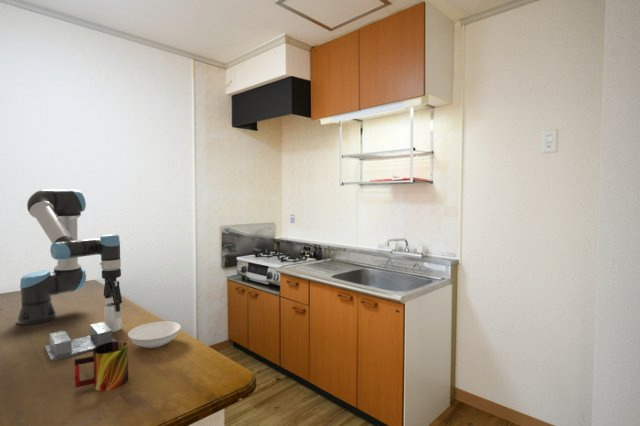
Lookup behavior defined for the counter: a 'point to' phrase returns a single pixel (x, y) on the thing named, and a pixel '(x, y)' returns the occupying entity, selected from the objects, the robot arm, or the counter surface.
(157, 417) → the counter surface
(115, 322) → the can
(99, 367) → the mug
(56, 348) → the gray metal fixture
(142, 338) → the bowl
